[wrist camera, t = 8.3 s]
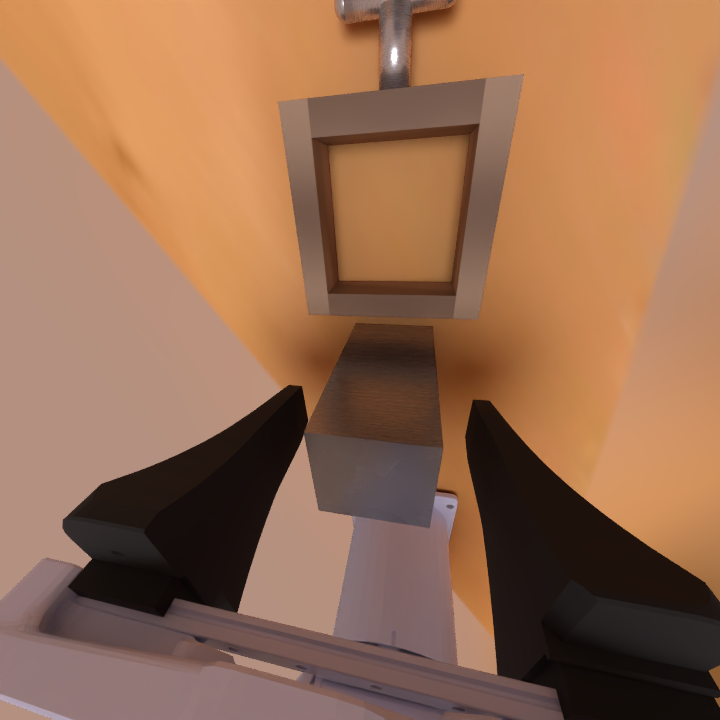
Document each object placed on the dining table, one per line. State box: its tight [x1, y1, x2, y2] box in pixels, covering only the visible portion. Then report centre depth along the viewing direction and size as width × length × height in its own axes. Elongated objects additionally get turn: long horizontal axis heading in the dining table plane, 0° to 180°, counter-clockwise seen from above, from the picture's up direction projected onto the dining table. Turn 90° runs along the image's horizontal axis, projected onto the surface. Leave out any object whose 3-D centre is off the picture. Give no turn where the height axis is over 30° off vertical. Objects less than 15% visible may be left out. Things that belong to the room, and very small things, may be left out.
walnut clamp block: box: [278, 0, 524, 320], centre depth 11 cm, size 10×7×2 cm
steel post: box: [304, 323, 443, 528], centre depth 12 cm, size 4×4×8 cm
